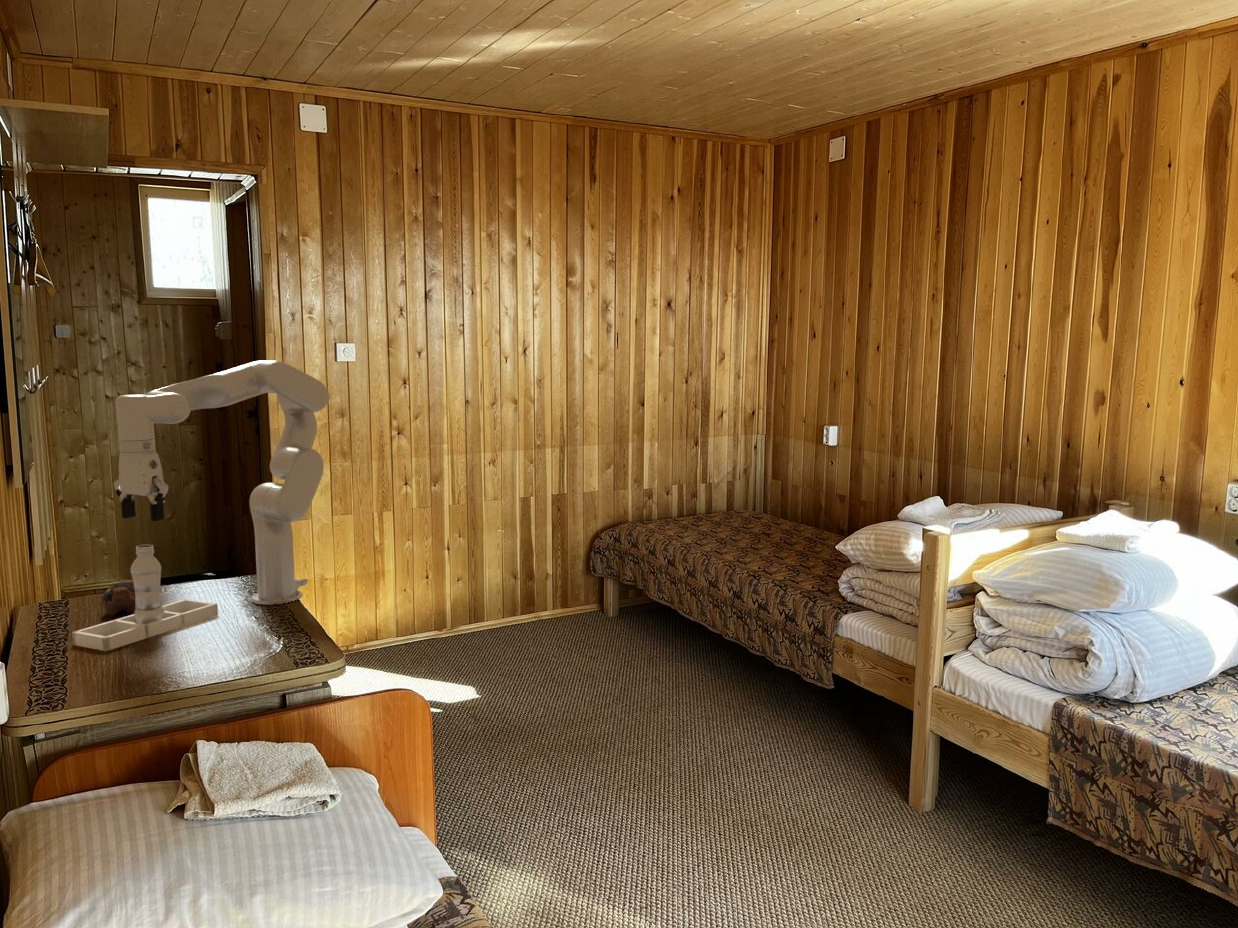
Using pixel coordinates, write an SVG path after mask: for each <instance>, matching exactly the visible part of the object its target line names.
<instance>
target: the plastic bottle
mask: <svg viewBox="0 0 1238 928" xmlns="http://www.w3.org/2000/svg"><path fill="white" fill-rule="evenodd" d="M135 551H136V552H135V555H136V558H135V559H134V560H133V562H132V564H131V566H130V574H131V577H132V583H134V589H135V596H136V598H135V609H136V610H135V613H134V621H135V623H140V624H148V623H152V622H155V621H158V620H161V619H165V613H164V609H163V607H162V606H163V602H162V595H161V576H162V565H161V563H160V562H159V560H158V559H157V558H156V557H155V556H154V553H155V549H154V545H153V544H141V545H136V547H135Z"/></svg>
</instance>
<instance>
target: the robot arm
mask: <svg viewBox="0 0 1238 928" xmlns="http://www.w3.org/2000/svg"><path fill="white" fill-rule="evenodd" d="M268 393H269V394H276V399H277V402H278V404H279V407H280V408H281V410H282V412H283V416H284V426H283V428H282V429H283V430H282V433H281V436H280V438H279V440H278V442H277V444H276V446H275V449H274V452H273V455H272V456H271V459H270V463H269V470H270V473H271V474H272V476H273V477H275V478H277V479H279V480H283V483H278V482H265V483H264V482H263V483H261V484H259V485H258V486H256V487H255V488H254V489H253V490H252V491H251V494H250V495H249V496H250V497H249V510H250V514H251V518H252V522H253V527H254V528H253V529H254V542H255V543H254V544H255V545H254V547H255V563H256V565H255V568H256V586H257V593H254V594H253V595H252V596H251V602H254V603H253V604H256V605H261V604H262V606H263V605H264V606H265V605H266V606H274V604H277V605H283V603H285V604H289V603H288V602H290V603H292V602H291V601H293V602H296V601H298V600H301V598H303V597H302V596H303V593H302V591H301V590H299V588H300V587H303V586H306V585H307V584H308V579H307V578H306V577H303V578H300V579H297V578H296V576H295V575H296V574H295V573H296V572H295V555H294V554H295V553H294V535H293V533H294V532H293V527H292V524H291V523H294V522H297V521H300V520H301V519H303V518H304V516H306V515H307V513H308V511H309V509H310V507H311V505H312V502H313V500H314V497H315V496H316V492H317V491H318V489H319V486H320V485H319V484H321V481H322V477H323V475H324V469H325V467H324V466H325V465H324V463H325V462H324V459H323V457H322V455H321V454H320V452H318V451H317V450H316V449H314V448H313V445H314V444H315V443H314V442H315V440H316V437H317V432H318V423H317V422H318V421H317V419H316V414H315V413H317V412H320V411H322V410H324V409H325V408H326V407H327V406H328V405H329V402H330V401H329V400H330V393H329V390H328V387H327V386H326V385H325V384H324V383H323V382H322V381H321V380H318V379H317V378H315V377H313V376H312V375H309V374H307V373H305V372H304V371H302V370H300V369H298V368H296V367H294V366H292V365H290V364H289V363H287V362H284V361H281V360H274V359H273V360H272V359H270V360H269V359H268V360H266V359H265V360H261V359H260V360H255V361H251V362H248V363H245V364H241V365H238V366H236V367H232V368H229V369H227V370H222V371H220V372H219V371H218V372H215V373H213V374H212V373H211V374H208V375H204V376H201V377H197V378H193V379H190V380H185V381H181V382H178V383H174V384H170V385H167V386H164V387H161V388H158V389H154V390H151V391H149V392H147V393H145V394H123V395H119V396H117V398H116V399H115V411H116V422H117V434H118V435H117V436H118V447H119V449H118V450H119V457H118V458H119V459H118V479H116V480H115V481H114V482H113V486H114V489H115V493H116V495H117V497H118V501H119V502H120V505H121V506H120V508H121V516H122V519H129V518H134V517H136V516H137V514H136V502H135V499H134V497H135V496H139V497H147V498H148V499H149V502H151V504H150V503H149V504H150V505H149V512H150V513H149V514H150V521H151V522H157V521H163V520H164V519H165V510H164V504H165V503H166V498H167V497H168V492H169V485H168V484H167V483H166V482H164V474H163V468H162V464H161V459H160V456H159V454H158V452H156V451H157V450H156V439H155V438H156V436H155V425H154V424H169V425H170V424H171V425H174V424H179V423H182V422H184V421H185V420H186V419H188V417H189V416H190V414H191V411H196V410H197V411H198V410H202V409H216V408H223V407H228V406H232V405H234V404H237V403H239V402H243V401H245V400H249V399H251V398H255V397H258V396H259V395H263V394H268ZM295 595H296V597H297V599H298V600H297V599H296V597H295ZM295 600H296V601H295Z"/></svg>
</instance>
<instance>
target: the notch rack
mask: <svg viewBox="0 0 1238 928" xmlns="http://www.w3.org/2000/svg"><path fill="white" fill-rule="evenodd" d="M162 607H163V609H164V613H165V619H161V620H158V621H155V622H152V623H148V624H140V623H135V621H134V614H130V615H127V616H123V617H119V618H116V619H113V620H109V621H105V622H102V623H99V624H95V625H93V626H89V627H86V628H82V629H79V630H78V629H77V630H75V631H72V634H71V636H72V645H73V646H77V647H81V648H88V649H92V650H93V649H94V650H97V649H98V650H97V651H102V652H108V651H111V650H115V649H117V648H121V647H124V646H127V645H130V644H133V643H136V642H139V641H142V640H145V639H147V638H151V637H155V636H158V635H161V634H164V633H167V632H170V631H173V630H176V629H179V628H182V627H185V626H189V625H192V624H196V623H198V622H201V621H205V620H208V619H210V618H213V617H217V616H219V610H218V603H217V602H216V603H215V602H208V601H202V600H196V599H189V598H185V599H181V600H177V601H174V602H171V603H168V604H163V605H162ZM204 619H205V620H204Z"/></svg>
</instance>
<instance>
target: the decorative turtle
mask: <svg viewBox="0 0 1238 928" xmlns="http://www.w3.org/2000/svg"><path fill="white" fill-rule="evenodd" d="M135 598H136V596H135V589H134V583H133V582H131V581H122V582H117V583H115V584H113V585H111V586H110V587H108V588H107V589H106V590H105V591H104V592H103V595H102V597H101V602H102V604H103V607H104V609H105V611H106V613H107V615H108V616H110V617H114V616H116V615H118V613H119V612H120V611H122V610H123V611H126V612H127V613H129V614H130V615H133V614H134V613H135V610H136V609H135Z"/></svg>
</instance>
